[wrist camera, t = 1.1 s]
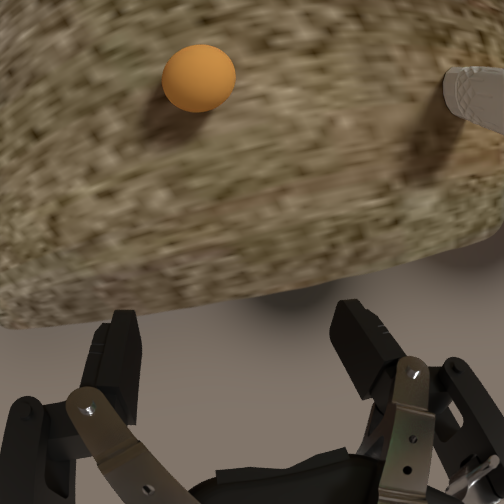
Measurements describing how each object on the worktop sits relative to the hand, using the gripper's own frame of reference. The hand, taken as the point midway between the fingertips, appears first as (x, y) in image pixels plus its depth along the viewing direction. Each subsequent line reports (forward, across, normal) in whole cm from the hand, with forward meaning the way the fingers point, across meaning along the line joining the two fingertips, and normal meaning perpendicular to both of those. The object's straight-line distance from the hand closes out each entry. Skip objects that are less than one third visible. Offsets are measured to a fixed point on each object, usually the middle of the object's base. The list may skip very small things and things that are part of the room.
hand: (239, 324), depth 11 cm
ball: (+15, +2, -10) cm, 18 cm away
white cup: (+18, -28, -15) cm, 37 cm away
